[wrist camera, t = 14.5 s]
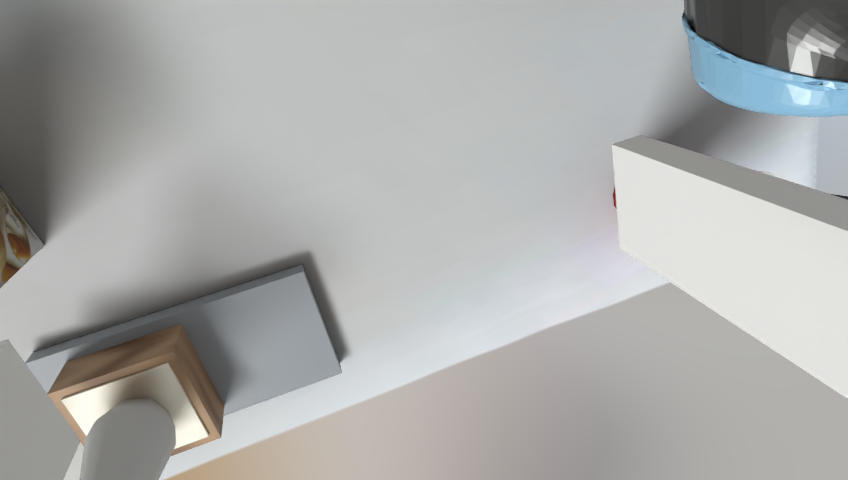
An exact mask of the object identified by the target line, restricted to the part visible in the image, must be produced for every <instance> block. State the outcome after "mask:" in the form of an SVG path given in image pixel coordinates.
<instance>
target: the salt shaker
mask: <svg viewBox="0 0 848 480" xmlns="http://www.w3.org/2000/svg"><path fill="white" fill-rule="evenodd" d="M175 445H176V433H175V425H174V422H173V420H172V418H171V415H170V413H169V411H167V410H166V409H165V408H164V407H162V406H161V405H160V404H159V403H157V402H156V401H155V400H154V399H153V398H139V399H124V400H123V401H122V402H120V403H119V404H118V405H116V406H115V407H113V408H112V409H111V410H109V411H108V412H107V413H105V414H104V415H102V416H101V417H100V418H98V419H97V420H96V421H95V423H94V424H93V426H92V427H91V429H90V431H89V433H88V434H87V436H86V438H85V445H84V452H83V459H82V466H81V473H80V480H158V479H159V477H160V475H161V473H162V471H163V469H164V467H165V465H166V463H167V461H168V459H169V457H170V455H171V453H172V451H173V449H174V447H175Z"/></svg>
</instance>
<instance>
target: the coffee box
mask: <svg viewBox="0 0 848 480" xmlns="http://www.w3.org/2000/svg"><path fill="white" fill-rule="evenodd" d="M43 247H44V245H43V243H42V242H41V240H40V239H39V238H38V237H37V235H36V234H35V233H34V231H33V230H32V229H31V227H30V226H29V225H28V223H27V222H26V221H25V219H24V218H23V217H22V215H21V214H20V213H19V212H18V210H17V209H16V208H15V206H14V205H13V203H12V202H11V201H10V199H9V198H8V197H7V195H6V194H5V193H4V191H3V190H2V189H1V187H0V288H1V287H2V286H3V285H4V284H5V283H6V282H7V281H8V280H9V279H10V278H11V277H12V276H13V275H14V274H15V273H16V272H17V271H18V270H19V269H20V268H21V267H22V266H23V265H25V264H26V263H27V262H28V261H29V259H30V258H32V257H33V256H34V255H35V254H36V253H37V252H38V251H39V250H40V249H42V248H43Z"/></svg>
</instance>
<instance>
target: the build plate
mask: <svg viewBox="0 0 848 480" xmlns="http://www.w3.org/2000/svg"><path fill="white" fill-rule="evenodd" d="M178 324H182V326H183V327H184V329H185V331H186V333H187V335H188V337H189V339H190V341H191V343H192V345H193V346H194V348H195V350H196V352H197V354H198V356H199V358H200V360H201V362H202V364H203V365H204V367H205V369H206V371H207V373H208V375H209V377H210V379H211V381H212V383H213V384H214V386H215V388H216V390H217V392H218V394H219V396H220V398H221V400H222V402H223V403H224V405H225V406H224V415H223V416H225V415H227V414H230V413H233V412H236V411H238V410H241V409H244V408H247V407H249V406H252V405H255V404H258V403H260V402H263V401H266V400H269V399H271V398H274V397H277V396H280V395H283V394H285V393H288V392H291V391H294V390H296V389H299V388H302V387H305V386H307V385H310V384H313V383H316V382H318V381H321V380H324V379H327V378H329V377H332V376H335V375H338V374H340V373H342V371H341V366H340V362H339V360H338V357H337V354H336V352H335V349H334V346H333V344H332V341H331V339H330V336H329V333H328V331H327V328H326V325H325V323H324V320H323V317H322V315H321V312H320V310H319V307H318V304H317V302H316V299H315V296H314V294H313V291H312V288H311V286H310V283H309V281H308V278H307V275H306V273H305V270H304V267H303V265H302V264H301V265H298V266H295V267H292V268H289V269H286V270H283V271H280V272H277V273H274V274H271V275H268V276H265V277H261V278H258V279H255V280H252V281H249V282H246V283H243V284H240V285H237V286H234V287H231V288H228V289H225V290H222V291H219V292H216V293H213V294H210V295H207V296H204V297H201V298H198V299H194V300H191V301H188V302H185V303H182V304H179V305H176V306H173V307H170V308H167V309H164V310H161V311H158V312H155V313H152V314H149V315H146V316H143V317H140V318H137V319H134V320H131V321H127V322H124V323H121V324H118V325H115V326H112V327H109V328H106V329H103V330H100V331H97V332H94V333H91V334H88V335H85V336H82V337H79V338H76V339H73V340H70V341H67V342H64V343H60V344H57V345H54V346H51V347H48V348H45V349H42V350H39V351H36V352H33V353H32V354H31V356H30V357H29V359H28V360H27V361H26V363H25V364H26V365H27V366H28V368H29V369H30V371H31V372H32V373H33V375H34V376H35V378H36V379H37V380H38V382H39V383H40V384H41V386H42V387H43V389H44V390H45V391H46V393H48V392H49V390H50V388H51V386H52V385H53V383H54V381H55V380H56V378H57V376H58V375H59V373H60V371H61V369H62V368H63V366H64V364H65V363H66V362H68V361H71V360H74V359H77V358H80V357H83V356H86V355H89V354H92V353H95V352H98V351H101V350H104V349H107V348H110V347H113V346H116V345H119V344H122V343H125V342H128V341H130V340H133V339H136V338H139V337H142V336H145V335H148V334H151V333H154V332H157V331H160V330H163V329H166V328H169V327H172V326H175V325H178Z"/></svg>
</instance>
